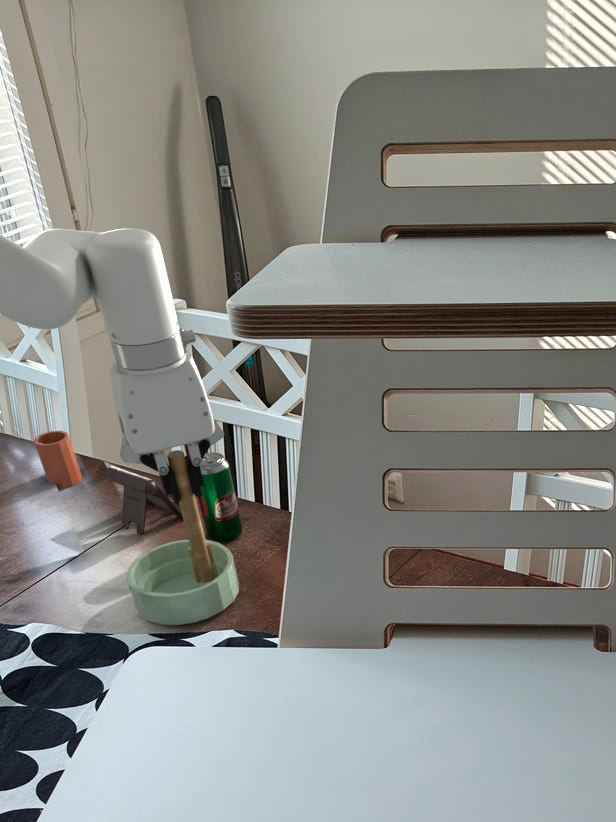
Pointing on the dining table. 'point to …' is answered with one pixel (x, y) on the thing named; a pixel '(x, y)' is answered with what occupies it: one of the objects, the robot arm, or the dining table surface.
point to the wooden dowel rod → (192, 521)
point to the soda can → (219, 499)
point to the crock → (58, 459)
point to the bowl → (180, 584)
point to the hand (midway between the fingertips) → (185, 494)
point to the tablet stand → (140, 497)
